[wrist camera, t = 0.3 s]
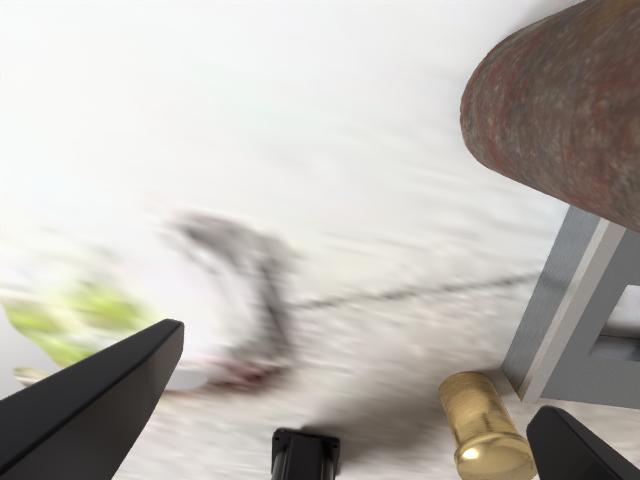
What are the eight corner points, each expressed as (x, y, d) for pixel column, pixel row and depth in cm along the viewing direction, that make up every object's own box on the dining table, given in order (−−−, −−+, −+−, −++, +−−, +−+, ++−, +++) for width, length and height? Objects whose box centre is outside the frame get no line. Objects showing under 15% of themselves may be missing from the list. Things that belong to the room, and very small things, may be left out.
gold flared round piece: (487, 416, 27) (524, 495, 22) (428, 408, 27) (449, 485, 22) (507, 372, 25) (552, 447, 19) (442, 364, 25) (469, 436, 20)
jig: (655, 386, 24) (696, 422, 22) (501, 367, 25) (521, 401, 22) (775, 219, 19) (852, 239, 16) (573, 199, 19) (612, 215, 16)
